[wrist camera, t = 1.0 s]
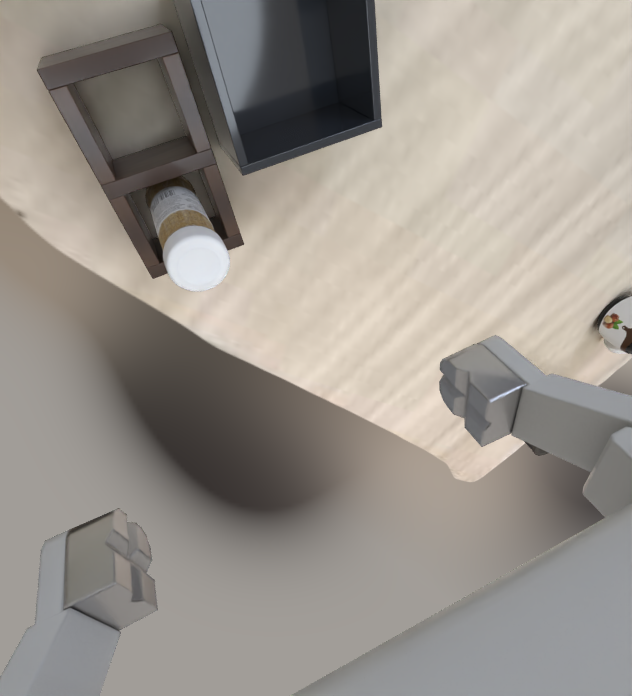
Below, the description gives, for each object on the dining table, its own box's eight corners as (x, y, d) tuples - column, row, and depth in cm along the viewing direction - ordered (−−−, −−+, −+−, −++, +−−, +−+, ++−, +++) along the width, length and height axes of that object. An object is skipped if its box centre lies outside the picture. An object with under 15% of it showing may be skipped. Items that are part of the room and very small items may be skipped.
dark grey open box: (162, -33, 30) (180, -32, 25) (322, -74, 32) (370, -82, 27) (220, 147, 39) (243, 176, 34) (343, 106, 41) (382, 127, 36)
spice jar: (160, 227, 41) (184, 303, 32) (135, 182, 38) (153, 253, 29) (204, 208, 42) (240, 277, 32) (183, 163, 38) (216, 226, 29)
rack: (41, 57, 30) (36, 69, 27) (161, 23, 32) (171, 30, 28) (146, 253, 42) (152, 279, 39) (231, 222, 44) (244, 244, 40)
